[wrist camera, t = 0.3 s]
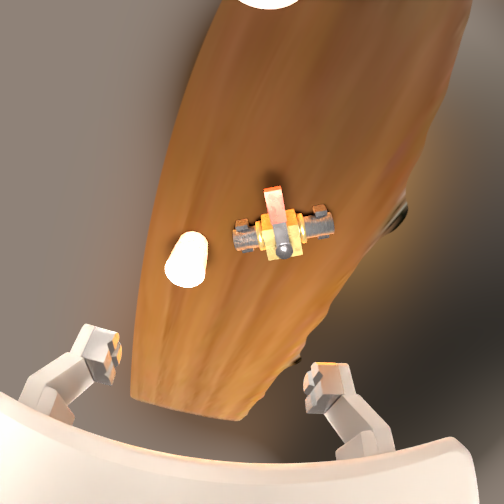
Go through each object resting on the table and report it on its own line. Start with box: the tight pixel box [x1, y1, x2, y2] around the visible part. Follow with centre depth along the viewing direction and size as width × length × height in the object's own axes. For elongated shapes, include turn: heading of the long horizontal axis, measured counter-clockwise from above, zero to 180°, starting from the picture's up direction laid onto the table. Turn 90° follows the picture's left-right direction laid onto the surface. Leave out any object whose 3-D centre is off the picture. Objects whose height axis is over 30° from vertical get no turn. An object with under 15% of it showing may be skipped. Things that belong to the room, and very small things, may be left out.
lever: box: [264, 186, 293, 259], centre depth 50 cm, size 14×3×2 cm, turn 12°
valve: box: [233, 204, 334, 261], centre depth 57 cm, size 20×7×8 cm, turn 102°
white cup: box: [165, 231, 208, 287], centre depth 59 cm, size 8×8×10 cm
